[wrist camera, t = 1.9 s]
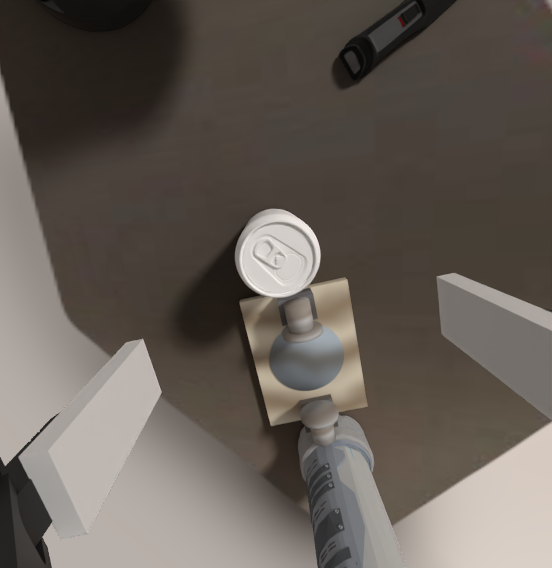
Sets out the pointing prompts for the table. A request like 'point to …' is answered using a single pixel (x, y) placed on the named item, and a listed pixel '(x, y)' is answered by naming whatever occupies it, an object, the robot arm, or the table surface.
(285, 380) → the cradle
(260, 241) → the beverage can
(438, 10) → the electric trimmer
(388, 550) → the canister
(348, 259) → the table surface
